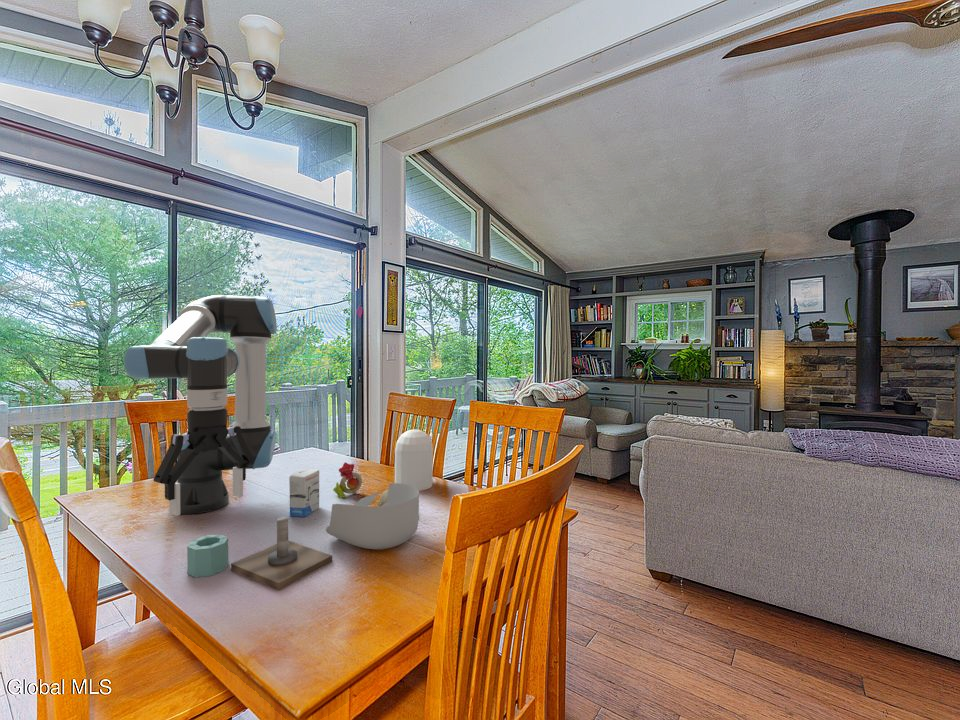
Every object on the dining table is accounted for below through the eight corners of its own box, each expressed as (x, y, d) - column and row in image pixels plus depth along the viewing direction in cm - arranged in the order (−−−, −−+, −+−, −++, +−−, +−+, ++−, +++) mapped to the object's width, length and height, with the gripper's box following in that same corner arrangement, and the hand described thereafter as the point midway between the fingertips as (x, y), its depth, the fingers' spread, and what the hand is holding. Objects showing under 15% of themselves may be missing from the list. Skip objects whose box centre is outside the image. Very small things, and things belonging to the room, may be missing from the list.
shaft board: (230, 570, 99) (230, 523, 98) (286, 545, 111) (285, 503, 111) (278, 590, 91) (278, 539, 91) (332, 561, 103) (332, 516, 103)
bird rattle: (350, 497, 153) (325, 491, 148) (362, 465, 155) (339, 458, 150) (357, 502, 148) (332, 497, 143) (370, 470, 150) (346, 463, 145)
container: (440, 483, 163) (440, 428, 162) (416, 493, 151) (416, 434, 151) (411, 477, 170) (412, 424, 169) (386, 486, 158) (386, 430, 158)
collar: (182, 571, 98) (181, 544, 98) (215, 557, 104) (215, 532, 104) (200, 580, 95) (200, 551, 94) (234, 565, 101) (233, 539, 101)
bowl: (379, 564, 102) (380, 513, 102) (323, 544, 112) (323, 497, 112) (433, 534, 119) (434, 489, 119) (380, 518, 129) (380, 477, 129)
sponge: (409, 527, 134) (420, 494, 139) (393, 517, 126) (405, 483, 131) (383, 521, 138) (395, 489, 142) (367, 512, 130) (380, 478, 135)
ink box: (304, 517, 129) (303, 477, 129) (288, 516, 130) (288, 475, 130) (320, 507, 138) (320, 469, 137) (305, 505, 139) (305, 468, 138)
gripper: (152, 416, 86) (153, 527, 86) (269, 403, 108) (269, 491, 108) (132, 413, 89) (133, 519, 90) (250, 401, 111) (250, 486, 112)
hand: (208, 504), depth 99 cm, fingers open, 13 cm apart
